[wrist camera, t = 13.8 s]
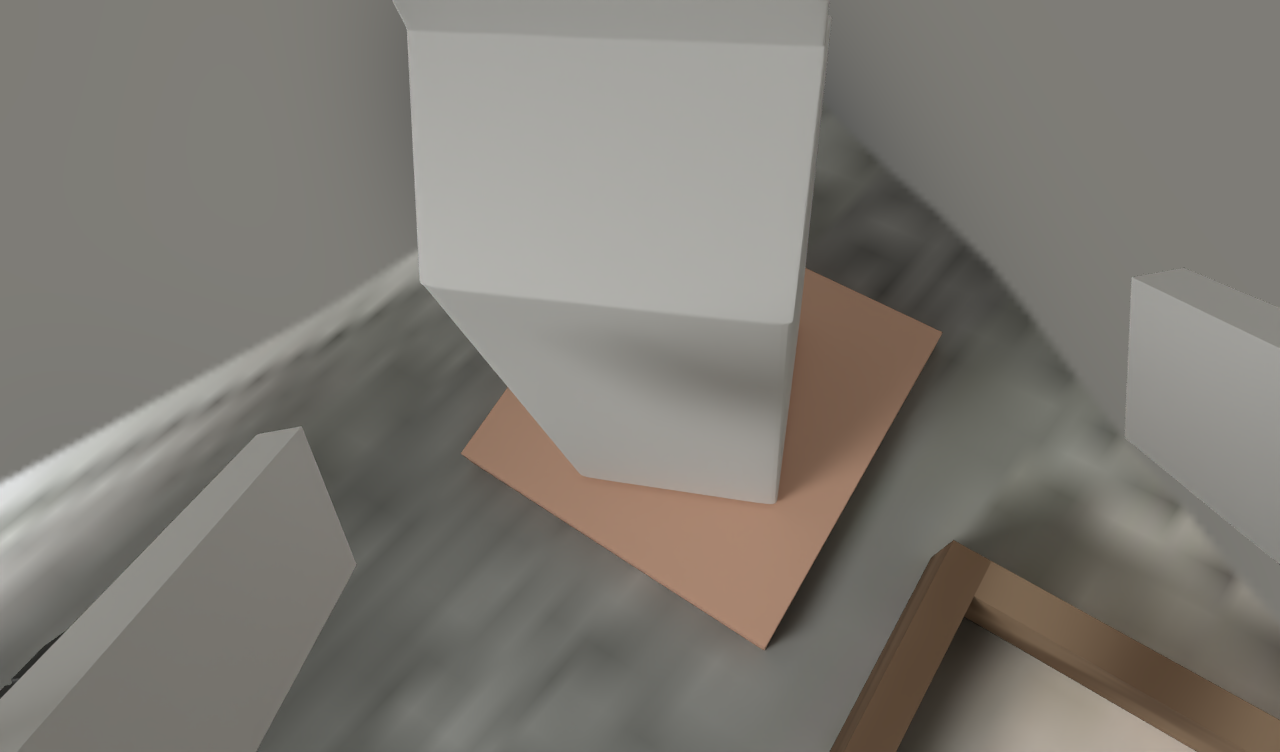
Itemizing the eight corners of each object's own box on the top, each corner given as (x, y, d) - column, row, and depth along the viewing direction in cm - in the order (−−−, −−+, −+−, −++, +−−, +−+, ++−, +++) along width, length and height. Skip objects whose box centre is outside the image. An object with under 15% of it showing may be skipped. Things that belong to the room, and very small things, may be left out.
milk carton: (776, 507, 28) (803, 194, 10) (579, 477, 29) (311, 157, 12) (799, 322, 30) (853, -185, 13) (616, 303, 32) (439, -179, 14)
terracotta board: (471, 461, 31) (461, 453, 30) (649, 208, 34) (645, 192, 33) (764, 650, 27) (764, 649, 26) (935, 345, 30) (942, 332, 29)
